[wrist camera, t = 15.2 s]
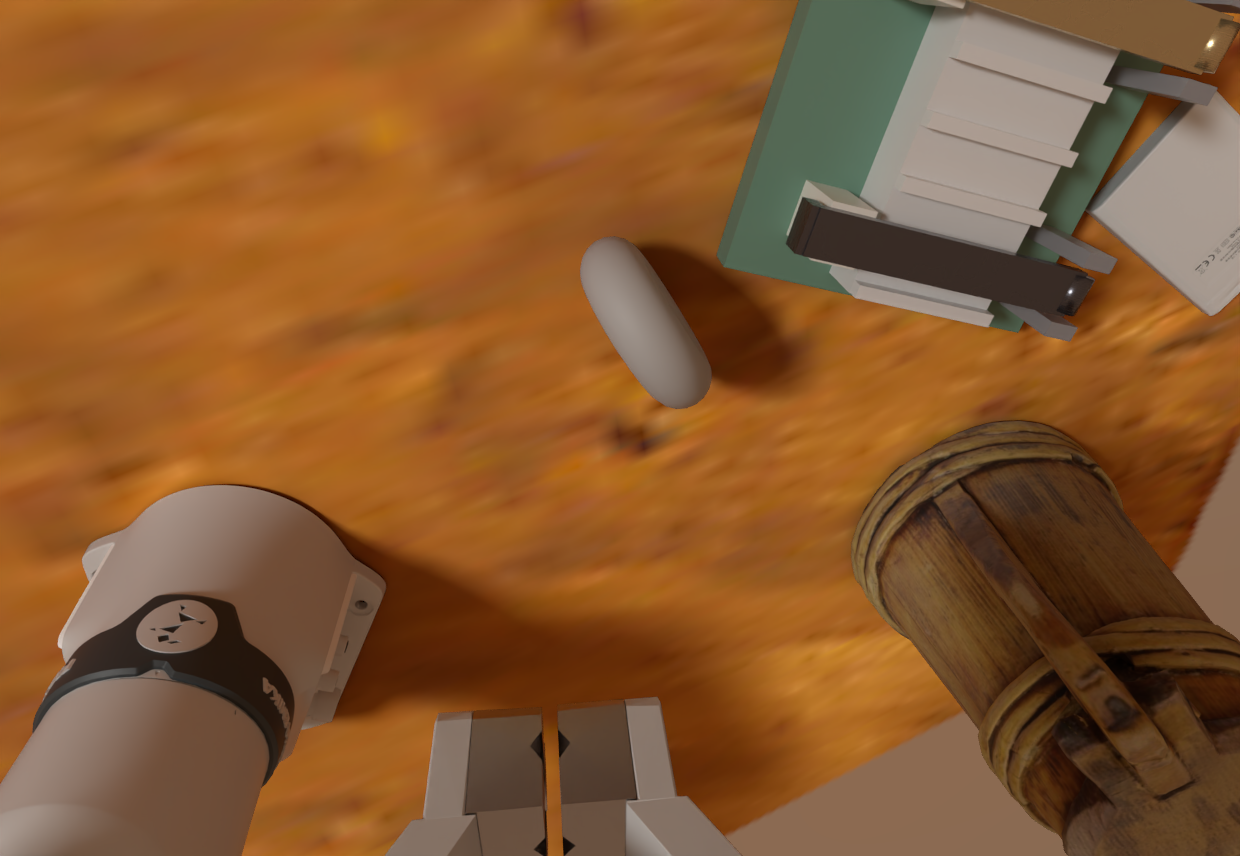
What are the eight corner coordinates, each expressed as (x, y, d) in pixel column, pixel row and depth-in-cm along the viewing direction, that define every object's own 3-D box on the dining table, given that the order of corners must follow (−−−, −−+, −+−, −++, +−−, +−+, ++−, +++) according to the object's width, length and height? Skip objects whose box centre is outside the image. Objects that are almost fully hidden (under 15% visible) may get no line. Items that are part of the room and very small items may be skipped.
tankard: (937, 649, 64) (1140, 993, 43) (758, 496, 54) (907, 843, 33) (1136, 516, 59) (1483, 832, 37) (978, 318, 49) (1329, 595, 27)
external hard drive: (1191, 80, 43) (1307, 201, 47) (1076, 206, 46) (1195, 309, 51) (1214, 84, 42) (1330, 209, 46) (1094, 213, 45) (1214, 319, 49)
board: (1001, 319, 49) (1072, 373, 42) (716, 255, 45) (747, 304, 38) (1191, -42, 39) (1320, -42, 33) (852, -165, 35) (924, -193, 29)
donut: (703, 338, 47) (741, 420, 39) (655, 367, 48) (682, 455, 40) (614, 201, 43) (636, 260, 34) (562, 236, 43) (570, 303, 35)
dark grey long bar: (1056, 307, 43) (1078, 321, 41) (785, 243, 39) (797, 256, 38) (1079, 265, 41) (1103, 278, 40) (802, 196, 38) (815, 207, 36)
